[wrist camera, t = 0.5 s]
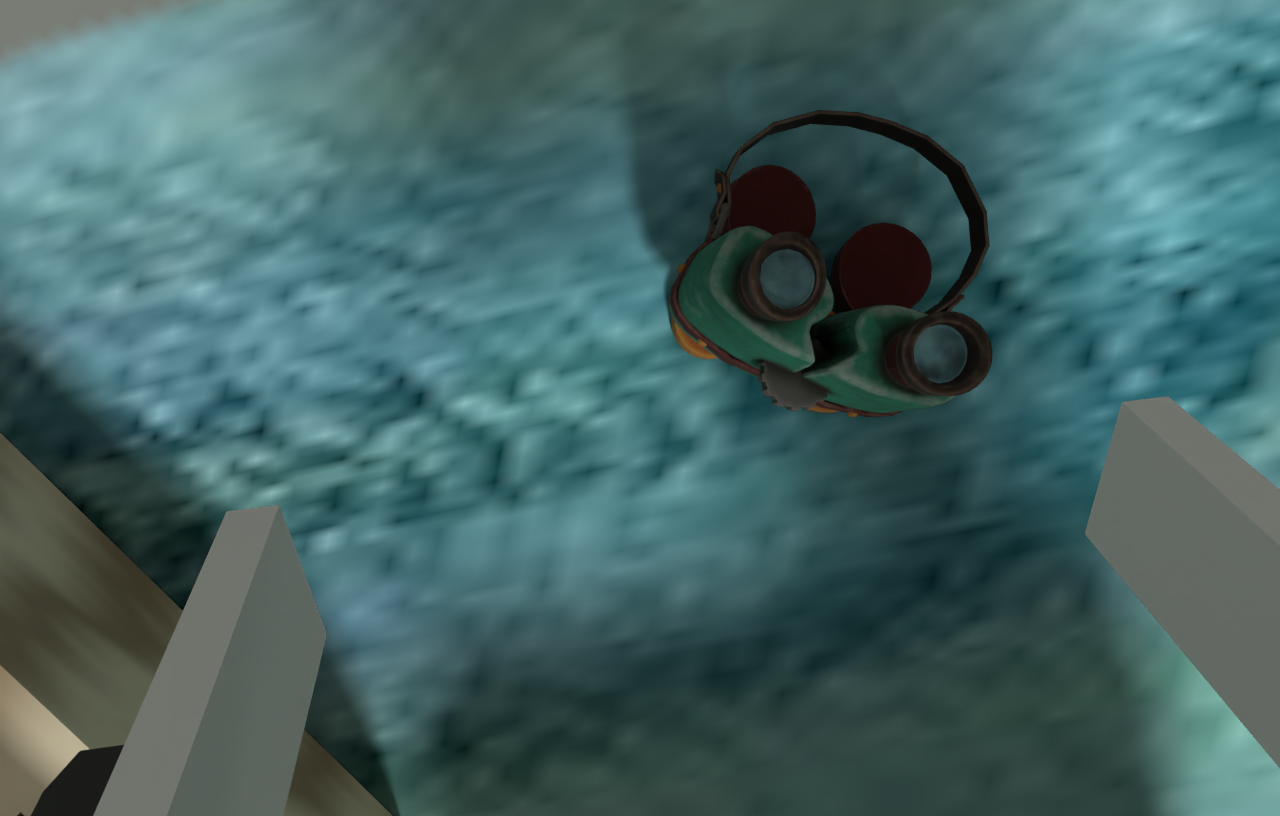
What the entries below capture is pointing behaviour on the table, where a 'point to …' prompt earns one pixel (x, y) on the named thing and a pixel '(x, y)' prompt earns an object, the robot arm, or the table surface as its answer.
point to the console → (93, 650)
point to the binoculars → (829, 293)
